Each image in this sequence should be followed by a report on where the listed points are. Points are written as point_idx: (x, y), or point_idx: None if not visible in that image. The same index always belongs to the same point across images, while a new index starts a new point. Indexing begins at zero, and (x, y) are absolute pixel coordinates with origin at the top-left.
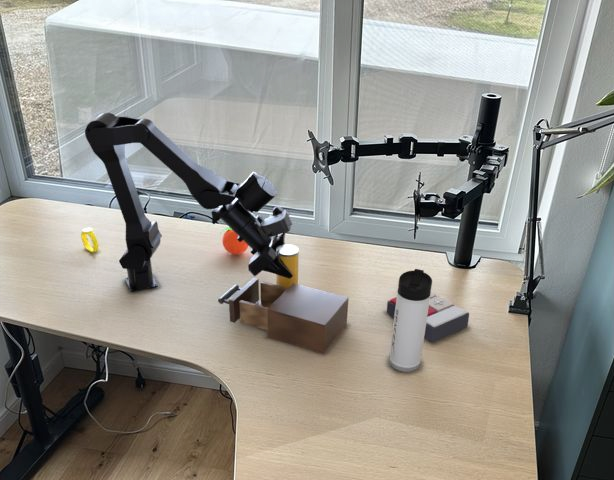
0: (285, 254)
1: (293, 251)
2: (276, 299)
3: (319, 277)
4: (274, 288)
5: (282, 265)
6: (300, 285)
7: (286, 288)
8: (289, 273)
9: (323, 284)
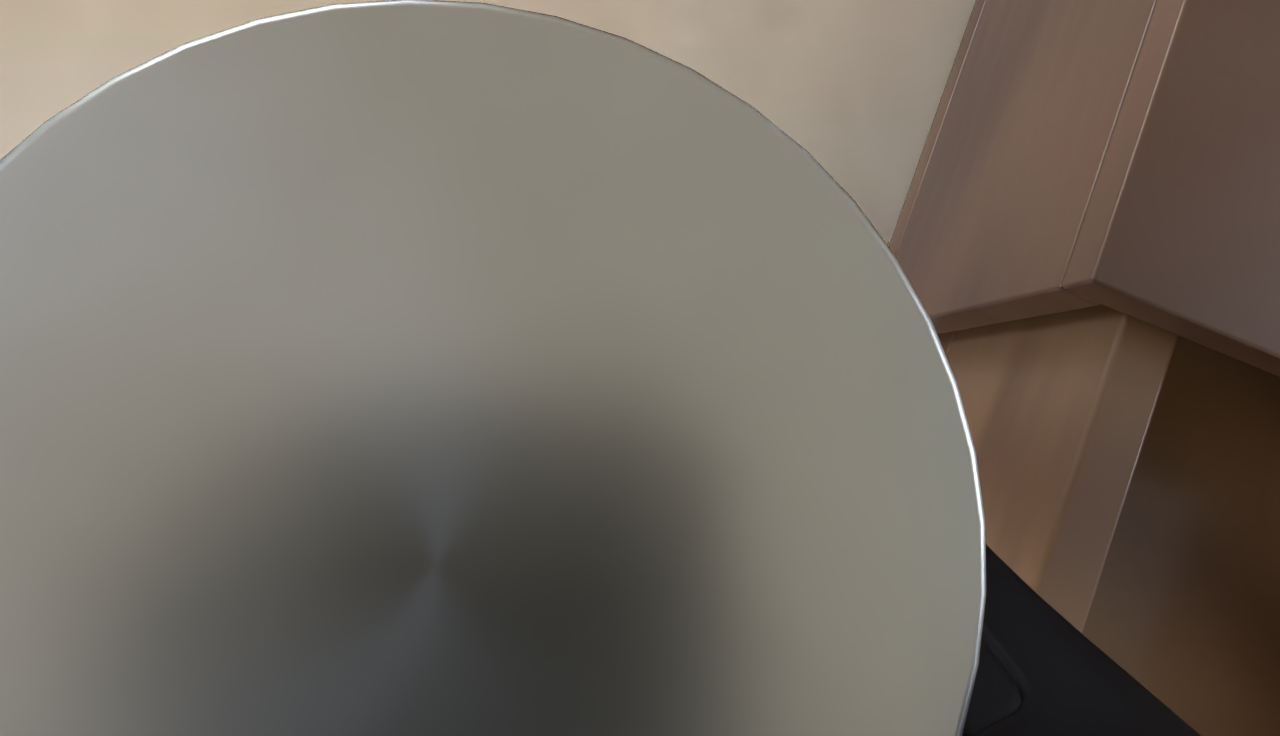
0: (963, 593)
1: (624, 247)
2: None
3: (10, 67)
4: None
5: (1033, 592)
6: (1163, 140)
7: (1125, 408)
8: None
9: (200, 11)
